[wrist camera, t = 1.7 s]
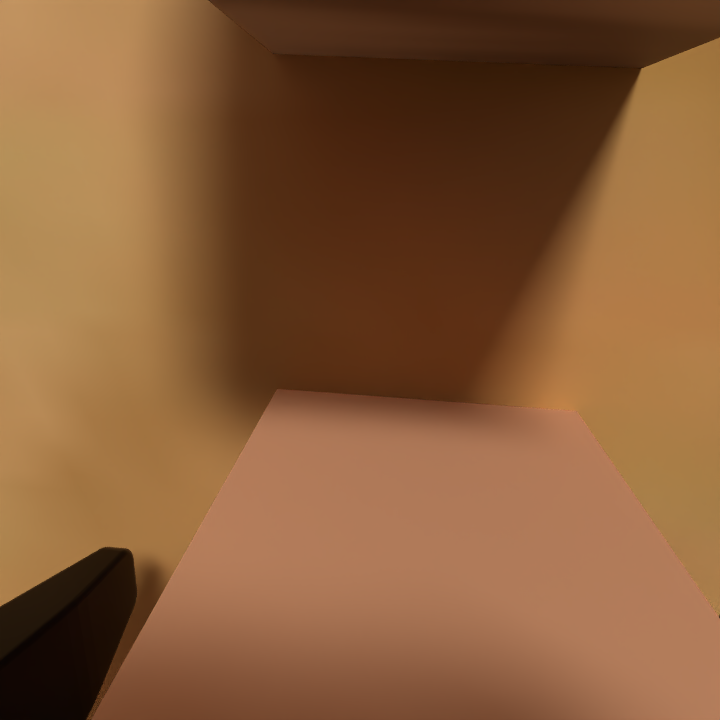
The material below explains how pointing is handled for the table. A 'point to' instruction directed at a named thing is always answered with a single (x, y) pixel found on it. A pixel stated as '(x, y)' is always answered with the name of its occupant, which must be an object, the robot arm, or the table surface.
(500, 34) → the walnut block
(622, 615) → the terracotta block
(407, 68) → the table surface
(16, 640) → the robot arm
